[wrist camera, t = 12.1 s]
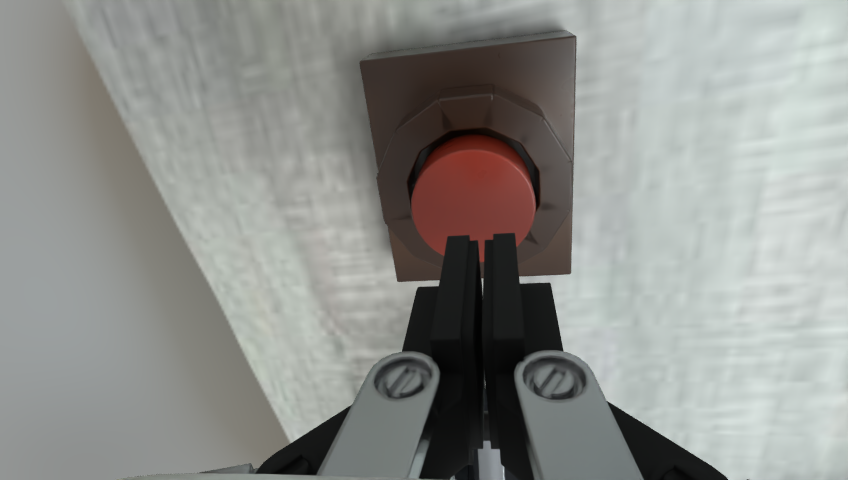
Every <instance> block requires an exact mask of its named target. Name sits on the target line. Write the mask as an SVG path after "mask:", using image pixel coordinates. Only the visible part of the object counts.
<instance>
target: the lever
mask: <svg viewBox="0 0 848 480" xmlns="http://www.w3.org/2000/svg"><path fill="white" fill-rule="evenodd" d="M478 463H479V480H505V467H504V466H502V465H501V461H500V449H491V443H490V431H489V419H488V411H484V442H483V449H478Z"/></svg>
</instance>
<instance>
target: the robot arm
mask: <svg viewBox="0 0 848 480" xmlns="http://www.w3.org/2000/svg"><path fill="white" fill-rule="evenodd" d="M485 383H486V395H487V407H488V419H489V431H490V443H491V449H500V461H501V465H502V466H504V467H505V468H506V469H507V470H508V471H509V472H510V473H512V474H513V475H514V476H515V477H516V478H517V479H518V480H728V479H727V478H726V477H725V476H724V475H723V474H721V473H720V472H719V471H718V470H716V469H715V468H714V467H712V466H711V465H709V464H708V463H706V462H704V461H703V460H701V459H699V458H698V457H696V456H695V455H693V454H691V453H690V452H688V451H687V450H685V449H683V448H682V447H680V446H679V445H677V444H675V443H674V442H672V441H671V440H669V439H667V438H666V437H664V436H662V435H661V434H659V433H658V432H656V431H654V430H653V429H651V428H650V427H648V426H646V425H645V424H643V423H642V422H640V421H638V420H637V419H635V418H633V417H632V416H630V415H629V414H627V413H625V412H624V411H622V410H621V409H619V408H617V407H616V406H614V405H613V404H611V403H609V402H608V401H606V399H605V397H604V395H603V392H602V390H601V388H600V386H599V384H598V382H597V380H596V378H595V375H594V373H593V372H592V370H591V369H590V367H589V366H588V365H587V364H586V363H585V362H584V361H583V360H581V359H580V358H579V357H577V356H574V355H572V354H570V353H567V352H563V347H562V341H561V336H560V331H559V326H558V320H557V315H556V310H555V304H554V299H553V294H552V288H551V284H550V283H527V284H519V272H518V261H517V250H516V238H515V233H500V234H493V240H485V248H484V283H483V294H482V281H481V268H480V256H479V243H478V240H472V241H470V236H469V235H459V236H448V237H447V242H446V248H445V254H444V260H443V265H442V271H441V277H440V283H439V286H433V287H418V288H417V291H416V295H415V299H414V303H413V308H412V312H411V316H410V320H409V324H408V328H407V333H406V337H405V341H404V345H403V349H402V352H399V353H394V354H391V355H389V356H387V357H385V358H382V359H381V360H380V361H379V362H377V363H376V364H375V365H374V366H373V367H372V369H371V370H370V371H369V373H368V375H367V377H366V379H365V381H364V383H363V385H362V387H361V388H360V390H359V392H358V394H357V396H356V398H355V400H354V402H353V404H352V405H351V406H349V407H348V408H346V409H344V410H343V411H341V412H340V413H338V414H337V415H335V416H333V417H332V418H330V419H329V420H327V421H326V422H324V423H322V424H321V425H319V426H318V427H316V428H314V429H313V430H311V431H310V432H308V433H307V434H305V435H303V436H302V437H300V438H299V439H297V440H296V441H294V442H292V443H291V444H289V445H288V446H286V447H285V448H283V449H281V450H280V451H278V452H277V453H275V454H274V455H272V456H271V457H270V458H269V459H267V460H266V461H265V462H264V463H263V464H262V465H261V466H260V468H256V469H253V467H252V464H251V463H249V464H244V465H238V466H233V467H227V468H222V469H217V470H211V471H206V472H200V473H189V474H156V475H147V476H137V477H128V478H123V479H118V480H455V476H454V475H455V474H456V473H457V472H459V471H460V470H461V469H462V468H464V467H465V466H466V465H473V462H474V449H483V442H484V389H485ZM747 480H748V479H747Z"/></svg>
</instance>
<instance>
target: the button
mask: <svg viewBox="0 0 848 480" xmlns="http://www.w3.org/2000/svg"><path fill="white" fill-rule="evenodd" d="M535 211H536V201H535V195H534V190H533V186H532V182H531V178H530V174H529V171H528V168H527V166H526V164H525V162H524V161H523V159H522V158H521V156H520V155H519V154H518V153H517V152H516V151H515V150H514V149H513V148H512V147H511V146H509V145H508V144H507V143H505V142H503V141H501V140H499V139H496V138H494V137H490V136H486V135H478V134H471V135H463V136H459V137H455V138H452V139H450V140H448V141H446V142H444V143H442V144H441V145H439V146H438V147H437V148H436V149H434V150H433V151H432V152H431V153H430V155H429V156H428V157H427V158H426V160H425V161H424V163H423V165H422V167H421V170H420V172H419V175H418V178H417V181H416V184H415V187H414V190H413V194H412V199H411V212H412V217H413V221H414V224H415V227H416V229H417V231H418V233H419V234H420V236H421V237H422V238H423V240H424V241H425V242H426V243H427V244H428V245H429V246H430V247H431V248H432V249H434V250H435V251H436V252H438V253H439V254H441V255H443V256H444V254H445V248H446V242H447V237H448V236H459V235H469V236H470V241H472V240H478V243H479V256H480V262H484V248H485V240H493V234H500V233H515V238H516V247H517V246H518V245H519V244H520V243H521V242H522V241H523V240H524V238H525V237H526V235H527V234H528V232H529V230H530V229H531V227H532V224H533V221H534V217H535Z"/></svg>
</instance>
